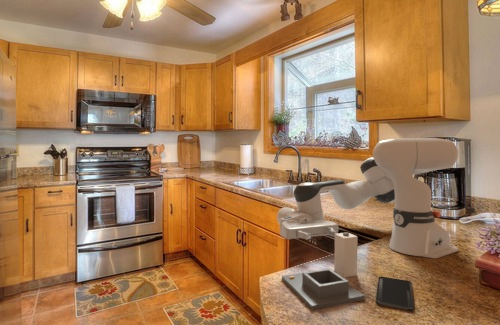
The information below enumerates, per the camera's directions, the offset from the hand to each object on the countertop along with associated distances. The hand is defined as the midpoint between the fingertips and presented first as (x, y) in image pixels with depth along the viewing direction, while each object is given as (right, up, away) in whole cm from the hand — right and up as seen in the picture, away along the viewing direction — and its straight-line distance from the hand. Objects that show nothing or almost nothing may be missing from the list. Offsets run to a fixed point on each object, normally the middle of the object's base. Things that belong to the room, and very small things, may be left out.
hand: (321, 235), depth 96 cm
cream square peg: (+4, -8, -11) cm, 14 cm away
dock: (-5, -8, -21) cm, 23 cm away
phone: (+12, -9, -23) cm, 28 cm away
